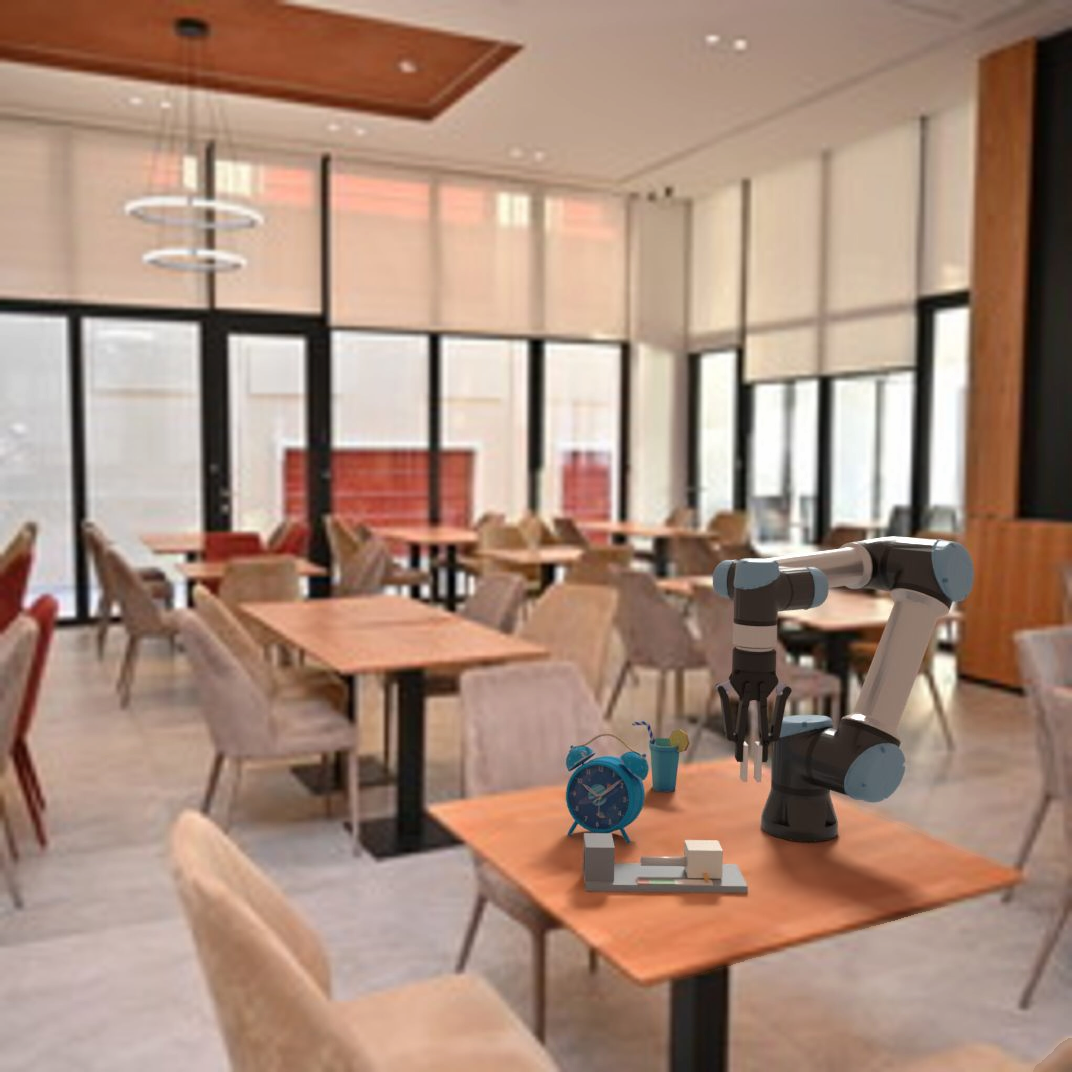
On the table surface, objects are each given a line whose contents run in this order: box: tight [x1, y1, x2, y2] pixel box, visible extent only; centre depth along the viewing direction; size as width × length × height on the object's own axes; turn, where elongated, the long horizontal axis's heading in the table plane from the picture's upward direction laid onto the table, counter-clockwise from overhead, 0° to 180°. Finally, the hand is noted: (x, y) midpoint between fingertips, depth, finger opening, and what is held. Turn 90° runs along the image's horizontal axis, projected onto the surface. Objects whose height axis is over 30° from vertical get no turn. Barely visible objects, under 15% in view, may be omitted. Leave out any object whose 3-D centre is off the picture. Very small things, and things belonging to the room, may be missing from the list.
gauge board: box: [582, 832, 749, 894], centre depth 189 cm, size 28×10×7 cm, turn 90°
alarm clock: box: [565, 732, 650, 845], centre depth 210 cm, size 17×10×20 cm, turn 70°
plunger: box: [639, 839, 724, 882], centre depth 188 cm, size 14×7×5 cm, turn 90°
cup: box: [631, 720, 690, 793], centre depth 241 cm, size 14×8×15 cm, turn 65°
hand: (750, 779), depth 188 cm, fingers open, 2 cm apart
